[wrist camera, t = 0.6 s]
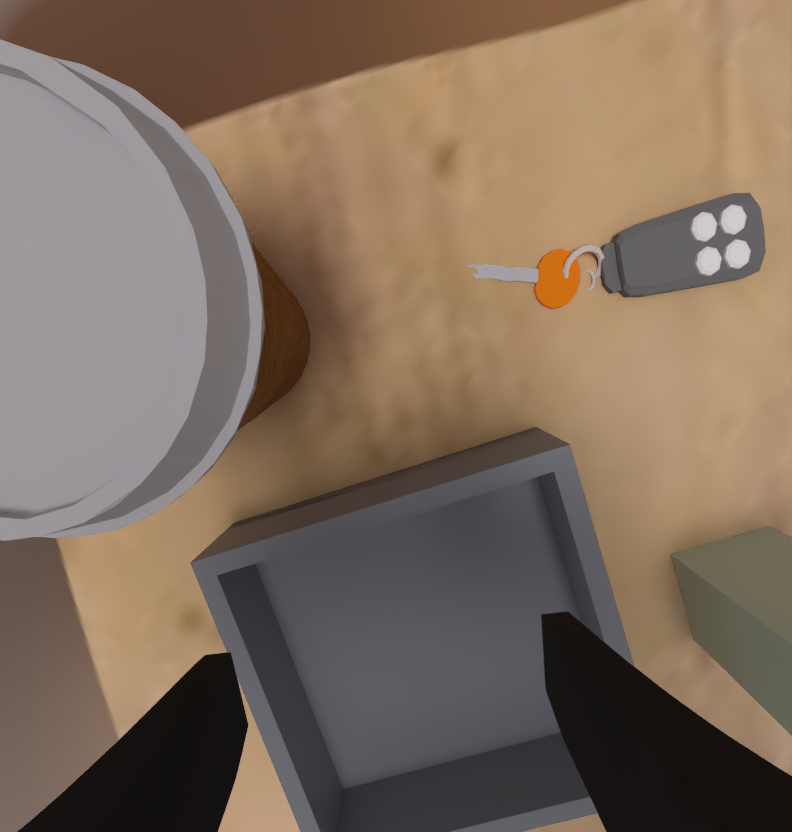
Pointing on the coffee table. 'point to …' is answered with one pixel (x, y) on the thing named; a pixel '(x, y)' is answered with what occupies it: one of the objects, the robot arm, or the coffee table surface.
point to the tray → (416, 640)
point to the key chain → (656, 254)
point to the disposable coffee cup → (121, 306)
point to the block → (744, 611)
